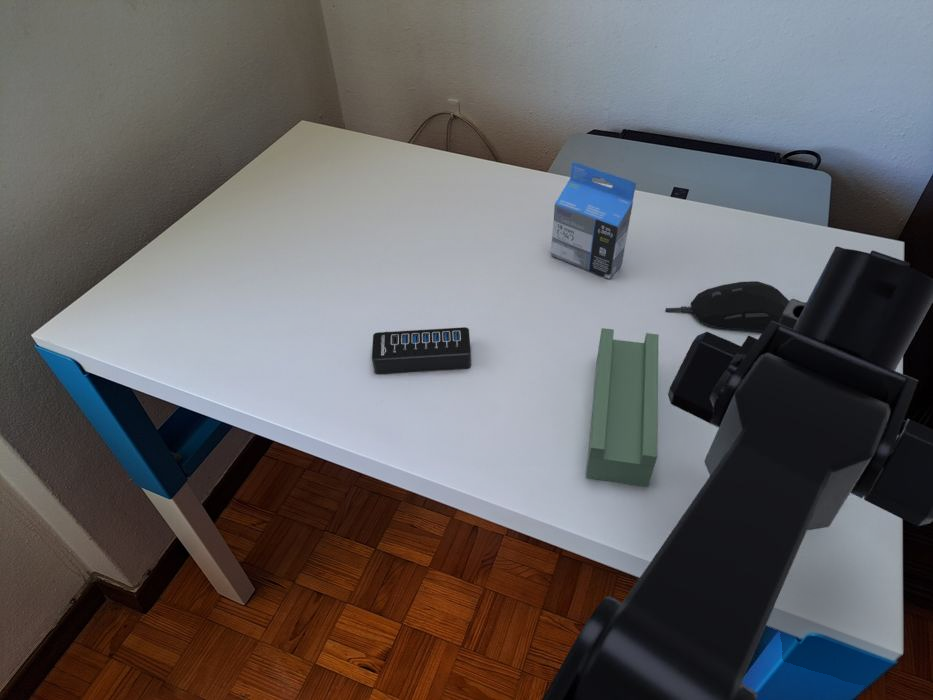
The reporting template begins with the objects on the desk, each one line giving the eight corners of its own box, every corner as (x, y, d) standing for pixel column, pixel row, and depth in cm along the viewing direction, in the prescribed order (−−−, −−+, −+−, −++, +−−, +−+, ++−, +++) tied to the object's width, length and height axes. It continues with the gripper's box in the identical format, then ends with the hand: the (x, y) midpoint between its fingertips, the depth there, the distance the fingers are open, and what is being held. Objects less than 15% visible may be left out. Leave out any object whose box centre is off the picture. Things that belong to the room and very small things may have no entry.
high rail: (648, 487, 66) (657, 457, 62) (585, 477, 66) (590, 447, 63) (651, 366, 76) (658, 334, 73) (596, 359, 77) (601, 327, 74)
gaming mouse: (662, 293, 85) (668, 268, 82) (787, 299, 83) (797, 273, 80) (667, 329, 80) (674, 303, 77) (799, 335, 79) (810, 310, 76)
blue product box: (548, 256, 90) (554, 174, 81) (563, 241, 93) (571, 160, 84) (609, 280, 87) (622, 197, 78) (623, 264, 89) (637, 181, 80)
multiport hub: (471, 368, 77) (470, 354, 75) (374, 374, 77) (371, 360, 75) (469, 340, 80) (468, 326, 78) (375, 346, 80) (373, 332, 78)
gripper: (1044, 373, 37) (983, 382, 51) (719, 251, 46) (742, 287, 60) (942, 549, 39) (910, 511, 53) (645, 400, 47) (684, 401, 61)
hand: (806, 419), depth 56 cm, fingers open, 9 cm apart
